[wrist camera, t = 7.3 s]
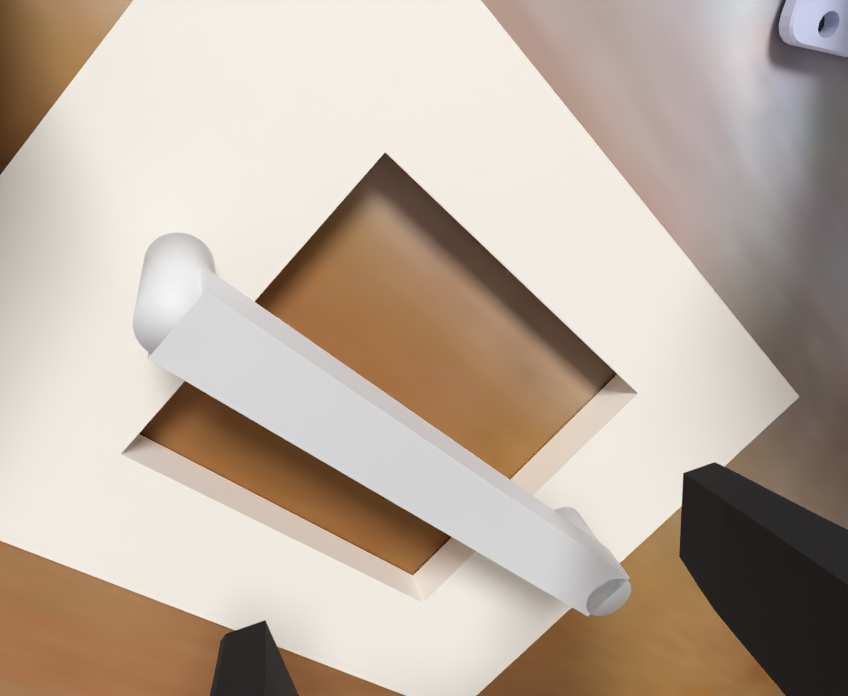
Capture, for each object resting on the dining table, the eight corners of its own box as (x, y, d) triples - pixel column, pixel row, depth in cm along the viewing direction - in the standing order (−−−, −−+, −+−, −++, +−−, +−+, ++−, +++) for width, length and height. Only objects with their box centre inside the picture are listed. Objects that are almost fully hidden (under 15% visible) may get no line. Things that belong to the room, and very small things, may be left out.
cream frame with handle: (773, 378, 20) (879, 451, 17) (445, 686, 22) (485, 799, 19) (293, -205, 11) (334, -281, 7) (-189, 426, 13) (-309, 565, 10)
